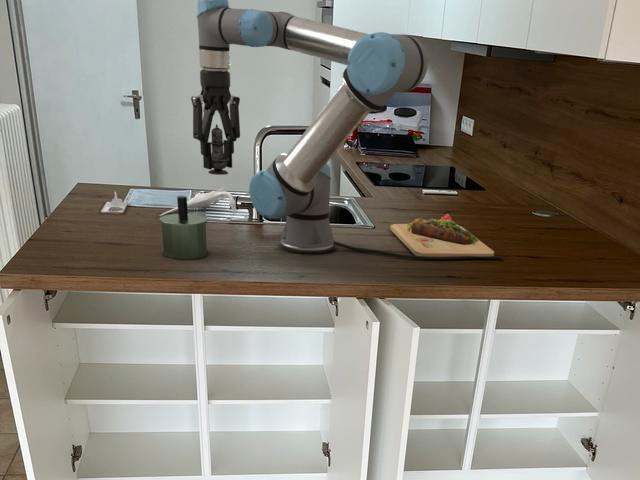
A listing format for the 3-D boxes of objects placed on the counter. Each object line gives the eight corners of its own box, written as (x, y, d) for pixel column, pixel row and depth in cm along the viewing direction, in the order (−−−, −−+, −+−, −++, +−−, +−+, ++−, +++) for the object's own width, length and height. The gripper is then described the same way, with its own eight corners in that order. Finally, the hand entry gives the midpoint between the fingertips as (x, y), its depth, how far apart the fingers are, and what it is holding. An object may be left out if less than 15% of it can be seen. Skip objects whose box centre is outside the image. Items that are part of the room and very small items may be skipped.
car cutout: (107, 203, 246) (105, 188, 243) (127, 203, 247) (126, 189, 245) (100, 213, 233) (99, 198, 231) (122, 213, 234) (121, 198, 232)
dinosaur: (161, 232, 251) (166, 235, 236) (152, 206, 247) (156, 208, 233) (231, 210, 255) (240, 212, 241) (223, 184, 251) (231, 184, 237)
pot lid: (213, 220, 199) (212, 194, 196) (197, 230, 189) (196, 203, 186) (170, 216, 201) (168, 190, 197) (152, 226, 191) (149, 198, 187)
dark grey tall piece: (206, 170, 202) (204, 122, 196) (227, 171, 204) (226, 122, 198) (208, 174, 198) (206, 125, 191) (230, 175, 199) (229, 126, 193)
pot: (212, 250, 203) (211, 218, 199) (198, 261, 194) (196, 227, 189) (173, 246, 204) (171, 214, 200) (157, 256, 195) (154, 223, 191)
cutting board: (388, 229, 236) (390, 204, 233) (458, 230, 241) (461, 206, 237) (416, 259, 207) (419, 231, 203) (496, 259, 212) (500, 232, 208)
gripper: (236, 68, 196) (238, 163, 208) (174, 67, 184) (180, 167, 196) (254, 71, 192) (254, 167, 204) (191, 70, 180) (196, 172, 192)
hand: (218, 167), depth 200 cm, fingers closed on dark grey tall piece, 6 cm apart
